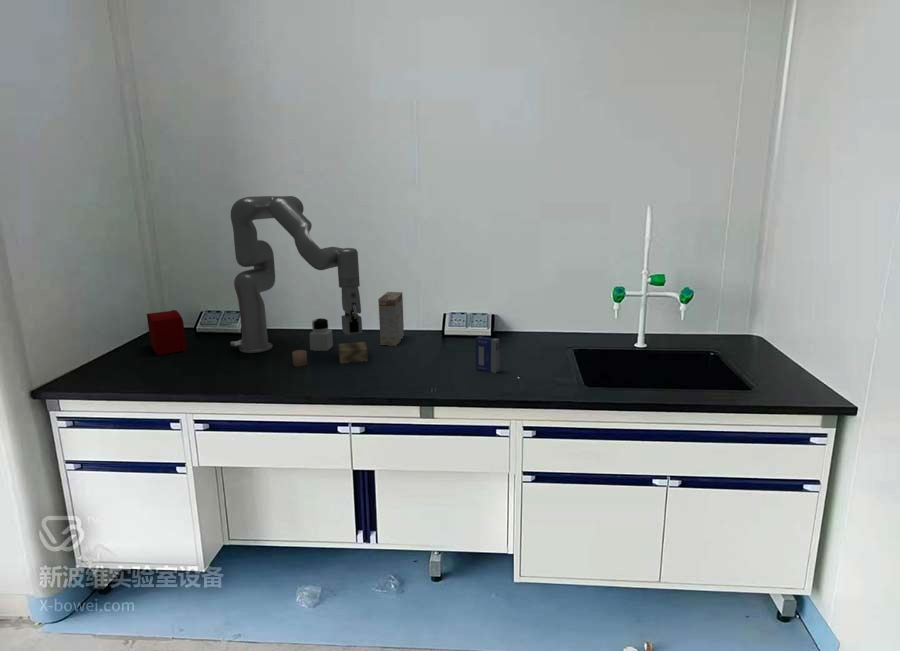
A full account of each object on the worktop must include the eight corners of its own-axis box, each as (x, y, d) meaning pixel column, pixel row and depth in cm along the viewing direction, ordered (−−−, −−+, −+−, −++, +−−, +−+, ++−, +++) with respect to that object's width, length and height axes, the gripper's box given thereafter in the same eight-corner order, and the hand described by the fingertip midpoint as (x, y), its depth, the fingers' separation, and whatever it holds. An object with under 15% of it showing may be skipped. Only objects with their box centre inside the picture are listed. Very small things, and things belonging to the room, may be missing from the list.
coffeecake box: (388, 336, 246) (386, 291, 242) (404, 336, 246) (403, 291, 241) (379, 345, 232) (377, 298, 227) (396, 346, 231) (395, 299, 226)
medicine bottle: (333, 346, 232) (331, 317, 229) (327, 351, 225) (325, 321, 223) (316, 345, 233) (314, 317, 230) (310, 350, 226) (308, 321, 223)
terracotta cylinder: (294, 368, 206) (293, 354, 204) (292, 364, 210) (291, 351, 209) (308, 366, 208) (307, 352, 206) (306, 362, 212) (305, 349, 211)
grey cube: (346, 334, 210) (345, 318, 208) (342, 331, 215) (341, 315, 213) (362, 332, 212) (361, 317, 210) (358, 329, 217) (357, 313, 216)
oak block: (340, 364, 210) (339, 351, 209) (339, 356, 220) (338, 343, 218) (367, 362, 212) (367, 349, 211) (365, 354, 222) (364, 341, 221)
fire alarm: (187, 351, 227) (182, 315, 223) (157, 356, 221) (152, 318, 217) (179, 342, 240) (175, 307, 236) (151, 347, 234) (146, 311, 230)
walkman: (475, 370, 201) (475, 337, 198) (479, 367, 204) (479, 335, 201) (496, 373, 197) (496, 339, 194) (499, 371, 200) (499, 337, 197)
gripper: (365, 285, 203) (368, 334, 207) (353, 278, 218) (355, 324, 222) (344, 286, 200) (347, 336, 204) (333, 279, 215) (336, 326, 219)
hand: (352, 329), depth 213 cm, fingers closed on grey cube, 6 cm apart
